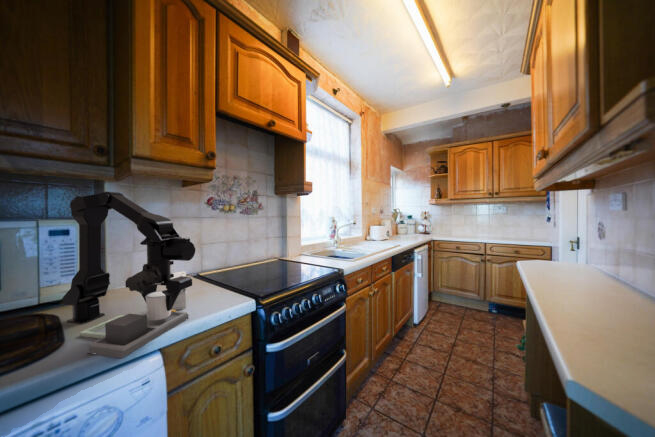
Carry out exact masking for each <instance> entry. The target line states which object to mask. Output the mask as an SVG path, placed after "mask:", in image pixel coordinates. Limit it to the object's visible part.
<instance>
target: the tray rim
mask: <svg viewBox="0 0 655 437" xmlns="http://www.w3.org/2000/svg"><path fill="white" fill-rule="evenodd" d="M122 316H125V315H124V314H121V315H118V316H115V317H112V318H110V319H109V320H106V321H104V322H102V323H99V324H96V325H94V326H91V327H89V328H86V329H85V330H82V331H80V332H79V336H80V337H86V338H95V339H100V338H103V337H105V336H106V332H100V331H99V332H97V331H98V330H100V329H102V328H104V327H105V324H106V323H108V322H111V321H113V320H115V319H118V318H120V317H122Z"/></svg>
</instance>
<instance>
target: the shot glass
mask: <svg viewBox="0 0 655 437" xmlns="http://www.w3.org/2000/svg"><path fill="white" fill-rule="evenodd" d="M165 290H166V289H165ZM165 290H156V292H153V293H150V294H148V295H146V296H145V297H146V302H145V304H146V310H147V311H146V312H147V316H148V318H149V320H160V319H164V318H166V317H168V316H170V315H171V310H170V311H167V307H166V295H165V294H164V293H162V291H165Z"/></svg>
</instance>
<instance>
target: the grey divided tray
mask: <svg viewBox="0 0 655 437" xmlns="http://www.w3.org/2000/svg"><path fill="white" fill-rule="evenodd" d="M186 319H187V320H188V319H189V313H188V312H187V311H179V310H178V311H177V310H171V315H170V316H168V317H166V318H164V319H160V320H149V318H148V314H147V315H146V314H136V313H126V314H125V315H124V316H122V317H120V318H118V319H115V320H113V321H111V322H108V323H106V324H105V331H104V332H105V333H106V336H105V337H103V338H101V339H100V338H98V339H97V340H95V341H93V342H90V343H89V344H90V346H89V347H87V349H88V350H87V351H88V352H87V354H88V353H96V354H99V355H98V356H103V357H108V358H109V357H110V358H115V359H116V358H117V359H123V358H125V357H126V356H127V355H130V354H132V353H133V352H135V351H136V350H138V349H140V348H142V347H143V346H145V345H146V344H148V343H149V342H152V341H154V340H155V339H157V338H158V337H160V336H162V335H163V334H165V333H166V332H168V331H170V330H172V329H174V328H175V327H177V326H178V325H180V324H182V323H183V322H185V321H187V320H186Z"/></svg>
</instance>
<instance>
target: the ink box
mask: <svg viewBox="0 0 655 437" xmlns="http://www.w3.org/2000/svg"><path fill="white" fill-rule="evenodd" d="M170 274H174V277H172V278H170V279H174V278H177V277H180V276H183V277H187V271H186V270H185V271H184V270H183V271H177V272H172V273H171V272H170ZM183 309H187V288H185V289H183V290H181V292H180V293H179V295H178V297H177V299H176V301H175V303H174V305H173V307H172V309H171V310H178V311H179V310H183Z"/></svg>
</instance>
